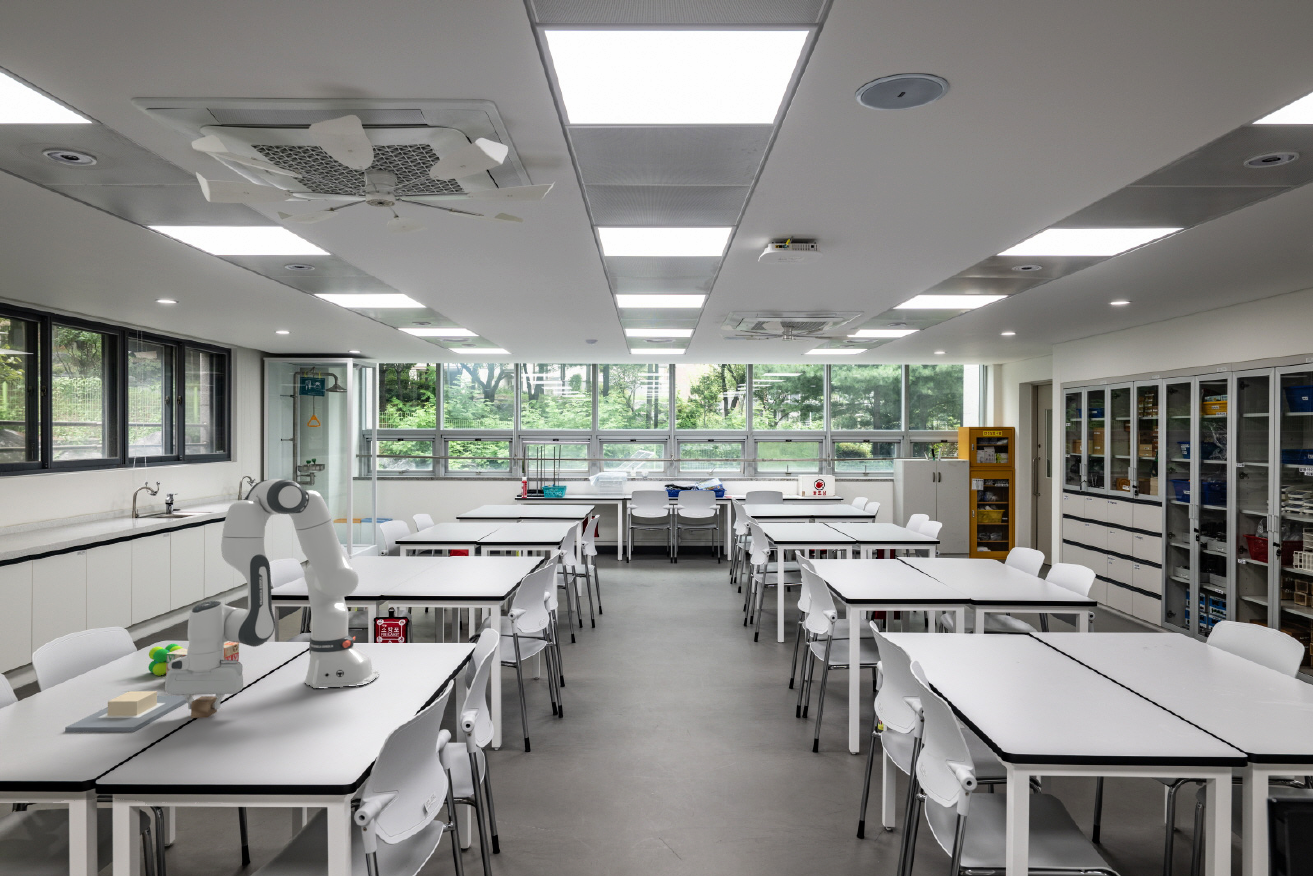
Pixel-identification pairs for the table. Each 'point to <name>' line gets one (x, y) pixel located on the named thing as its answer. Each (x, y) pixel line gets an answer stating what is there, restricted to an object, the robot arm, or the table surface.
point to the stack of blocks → (229, 653)
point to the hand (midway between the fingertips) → (204, 708)
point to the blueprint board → (125, 722)
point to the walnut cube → (203, 707)
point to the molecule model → (160, 658)
